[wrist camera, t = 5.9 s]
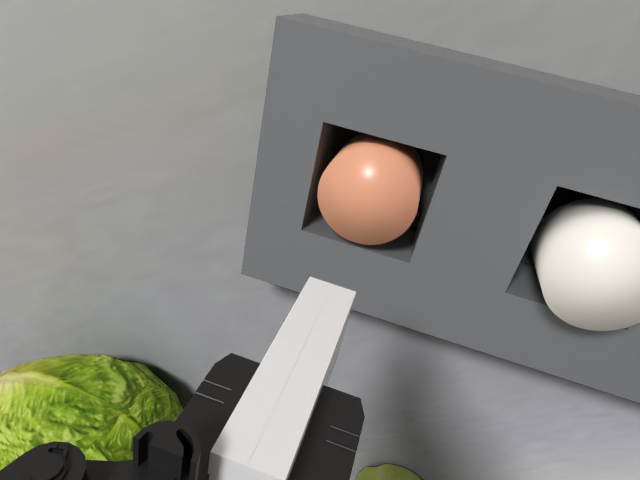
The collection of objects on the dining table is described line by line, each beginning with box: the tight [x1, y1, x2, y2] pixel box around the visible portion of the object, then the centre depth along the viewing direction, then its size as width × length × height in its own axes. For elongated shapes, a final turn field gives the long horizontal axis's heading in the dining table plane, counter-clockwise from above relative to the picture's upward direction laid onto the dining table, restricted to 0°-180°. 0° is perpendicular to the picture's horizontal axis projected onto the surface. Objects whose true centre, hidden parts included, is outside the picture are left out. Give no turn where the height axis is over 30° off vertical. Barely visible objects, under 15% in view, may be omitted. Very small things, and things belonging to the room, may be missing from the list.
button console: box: [241, 14, 640, 403], centre depth 24 cm, size 34×14×4 cm, turn 78°
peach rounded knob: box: [317, 133, 424, 245], centre depth 25 cm, size 5×5×4 cm
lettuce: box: [0, 354, 183, 470], centre depth 38 cm, size 13×22×14 cm
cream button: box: [531, 198, 640, 331], centre depth 22 cm, size 5×5×4 cm
